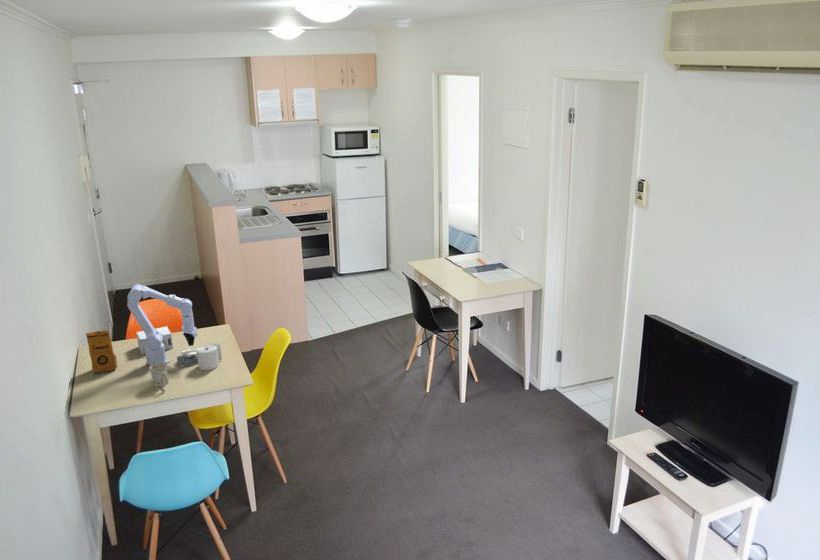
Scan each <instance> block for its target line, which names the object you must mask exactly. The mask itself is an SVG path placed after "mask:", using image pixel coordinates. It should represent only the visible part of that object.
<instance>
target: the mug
mask: <svg viewBox="0 0 820 560" xmlns="http://www.w3.org/2000/svg"><path fill="white" fill-rule="evenodd" d="M149 372H150V375H151V378H152V382H153V383H154V386H155V387H156V388H162V387H165V386H167V385H168V384H169V381H170V380H169V377H168V363H155V364H153V365H151V366H150V365H149Z"/></svg>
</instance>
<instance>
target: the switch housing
mask: <svg viewBox="0 0 820 560" xmlns="http://www.w3.org/2000/svg"><path fill="white" fill-rule="evenodd" d="M194 352H196V350H194ZM189 353H191V352H189ZM176 362H177V363H178V364H179V365H181V366H182V367H183V368H187V367H191V366H194V365H196V364H197V365H198V361H197V356H195V355H191V356H190V357H187V356H185V355H183V354H180V355H179V356H176Z"/></svg>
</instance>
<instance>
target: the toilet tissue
mask: <svg viewBox="0 0 820 560" xmlns="http://www.w3.org/2000/svg"><path fill="white" fill-rule="evenodd" d="M221 350H222V348H221V344H220V343H211V344H210V343H209V344H203V345H201V346H198V347H197V348H196V350H195V351H196V353H197V361H198V363H197V367H198V369H199V370H202V371H211V370H213V369H216V368H218V367H219V365H220V361H222V360H223V357H222V351H221Z"/></svg>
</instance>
